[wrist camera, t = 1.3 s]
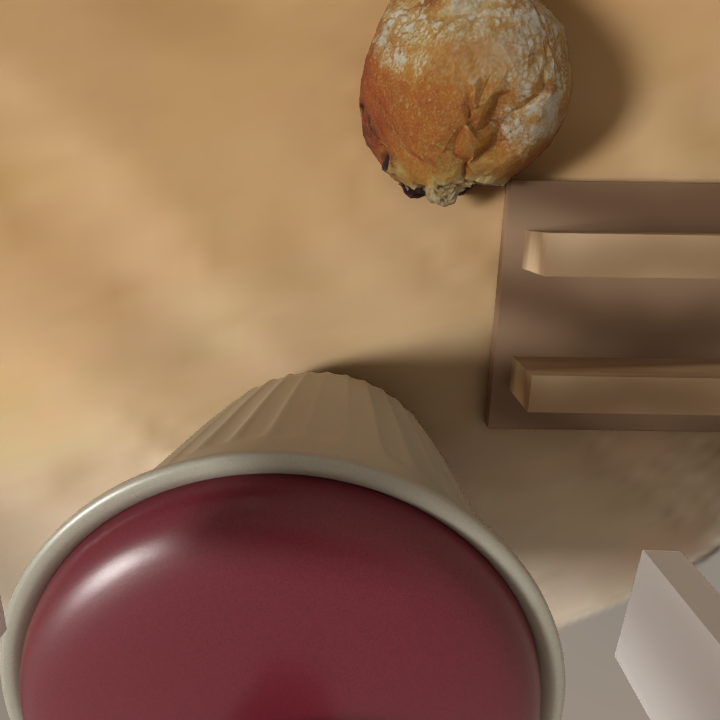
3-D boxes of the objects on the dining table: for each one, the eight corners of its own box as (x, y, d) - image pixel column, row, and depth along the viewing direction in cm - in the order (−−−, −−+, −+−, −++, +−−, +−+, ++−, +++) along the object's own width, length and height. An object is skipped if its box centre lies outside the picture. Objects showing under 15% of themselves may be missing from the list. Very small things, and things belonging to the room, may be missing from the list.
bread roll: (543, 120, 29) (655, 22, 22) (455, 254, 27) (543, 199, 20) (412, 3, 28) (482, -149, 20) (307, 137, 26) (340, 26, 18)
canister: (128, 388, 30) (-333, 736, 10) (405, 275, 28) (508, 436, 8) (256, 612, 35) (111, 1150, 15) (501, 530, 33) (716, 1027, 13)
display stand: (506, 181, 27) (533, 175, 23) (767, 185, 27) (844, 180, 23) (484, 421, 31) (503, 455, 27) (711, 424, 31) (767, 459, 27)
